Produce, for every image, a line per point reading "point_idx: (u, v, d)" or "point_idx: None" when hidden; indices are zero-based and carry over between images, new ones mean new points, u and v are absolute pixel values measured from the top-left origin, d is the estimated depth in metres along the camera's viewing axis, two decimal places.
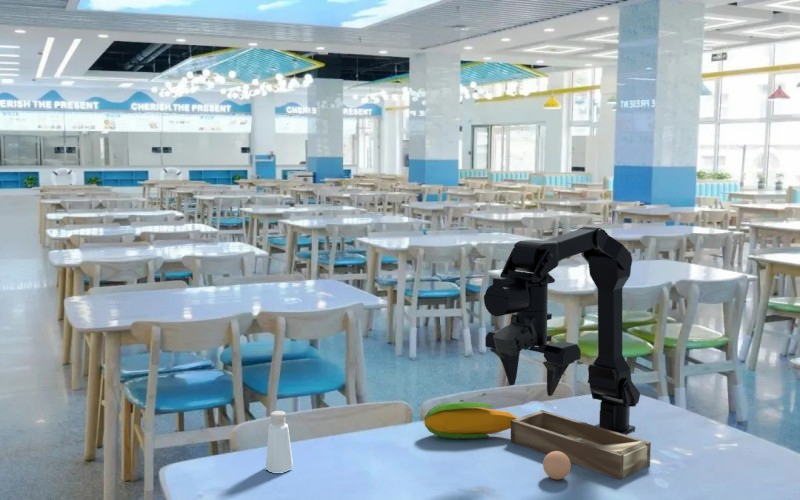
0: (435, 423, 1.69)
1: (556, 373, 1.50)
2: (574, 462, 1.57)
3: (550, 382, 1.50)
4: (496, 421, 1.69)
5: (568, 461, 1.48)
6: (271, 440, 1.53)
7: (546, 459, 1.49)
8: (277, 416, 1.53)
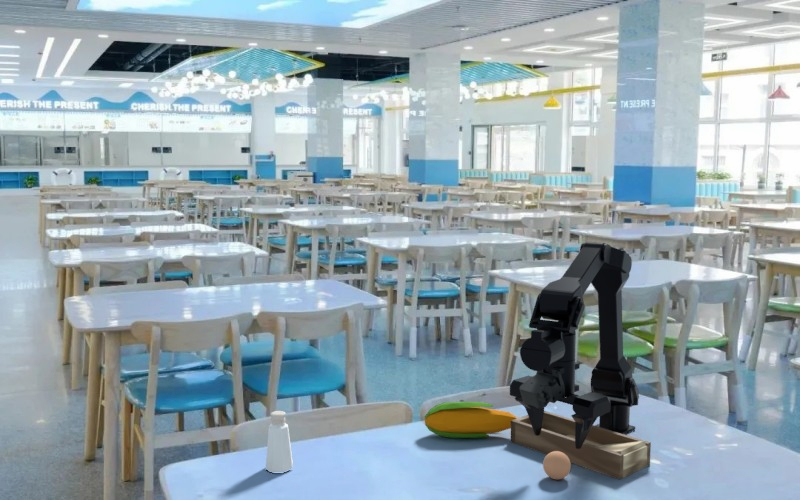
0: (435, 422, 1.69)
1: (585, 426, 1.45)
2: (574, 462, 1.57)
3: (578, 435, 1.44)
4: (496, 421, 1.69)
5: (568, 461, 1.48)
6: (271, 440, 1.53)
7: (546, 459, 1.49)
8: (277, 416, 1.53)
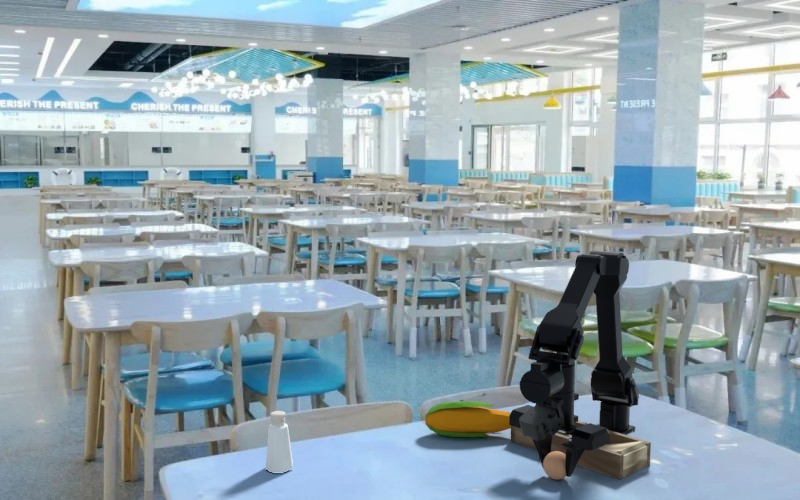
0: (434, 421, 1.70)
1: (575, 454, 1.47)
2: None
3: (569, 463, 1.46)
4: (496, 420, 1.70)
5: None
6: (271, 440, 1.53)
7: (546, 459, 1.49)
8: (277, 416, 1.53)
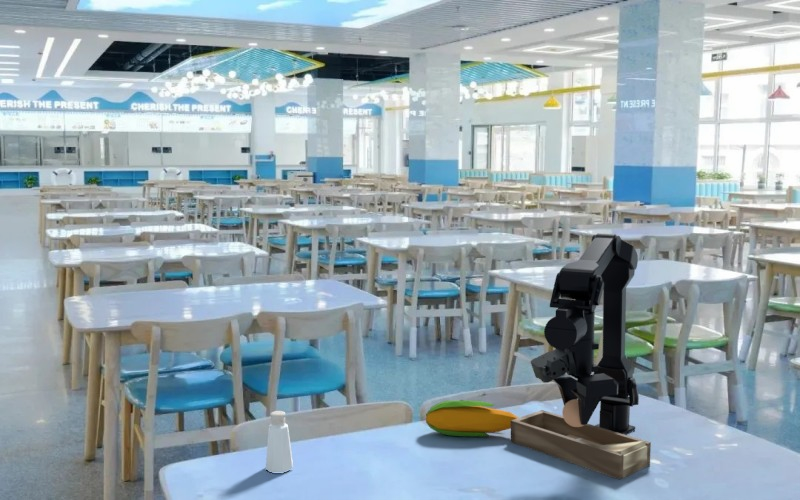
0: (435, 420, 1.71)
1: (588, 403, 1.46)
2: (574, 462, 1.57)
3: (581, 411, 1.46)
4: (496, 420, 1.70)
5: None
6: (271, 440, 1.53)
7: (564, 405, 1.50)
8: (277, 416, 1.53)
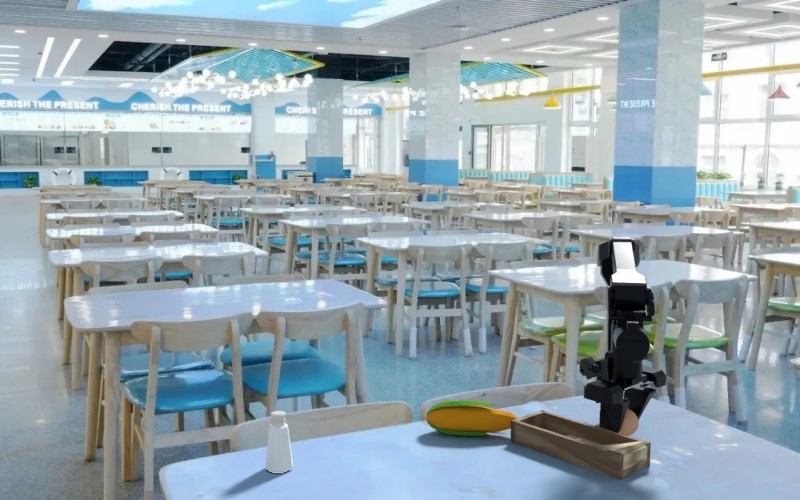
0: (435, 419, 1.72)
1: (614, 411, 1.50)
2: (574, 462, 1.57)
3: (609, 416, 1.52)
4: (496, 420, 1.70)
5: None
6: (271, 440, 1.53)
7: None
8: (277, 416, 1.53)
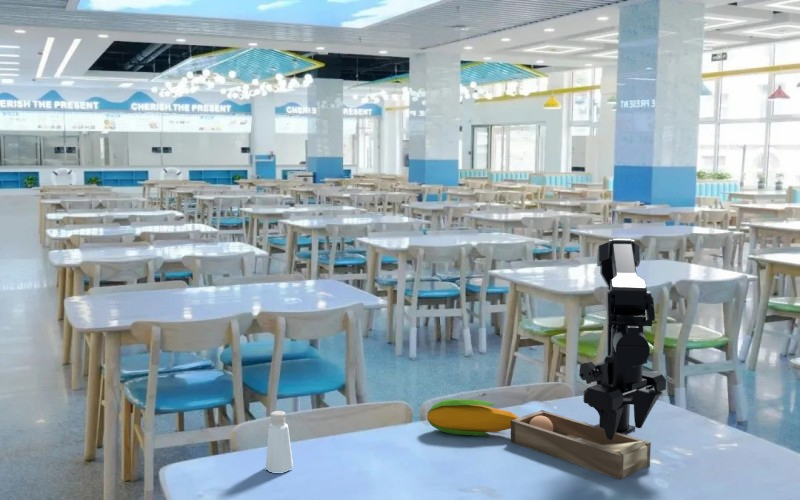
0: (435, 417, 1.72)
1: (608, 417, 1.49)
2: (574, 462, 1.57)
3: (602, 423, 1.50)
4: (496, 420, 1.70)
5: None
6: (271, 440, 1.53)
7: None
8: (277, 416, 1.53)
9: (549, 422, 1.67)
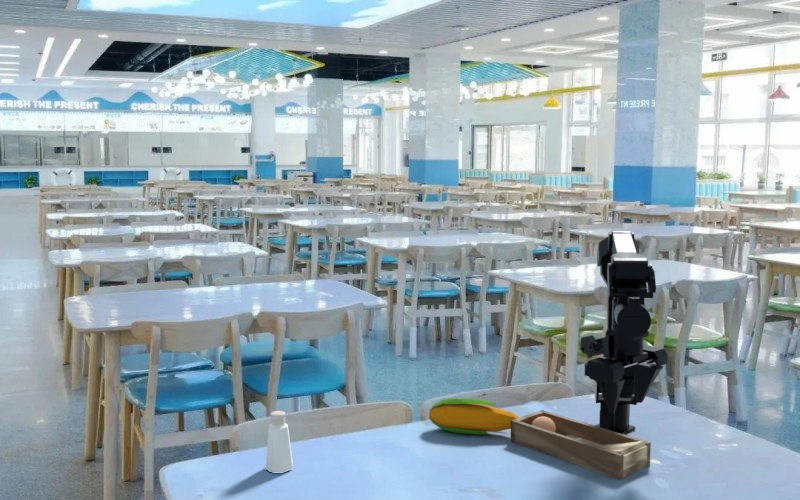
0: (436, 415, 1.74)
1: (609, 390, 1.48)
2: (574, 462, 1.57)
3: (603, 397, 1.50)
4: (496, 419, 1.70)
5: None
6: (271, 440, 1.53)
7: None
8: (277, 416, 1.53)
9: (553, 426, 1.67)
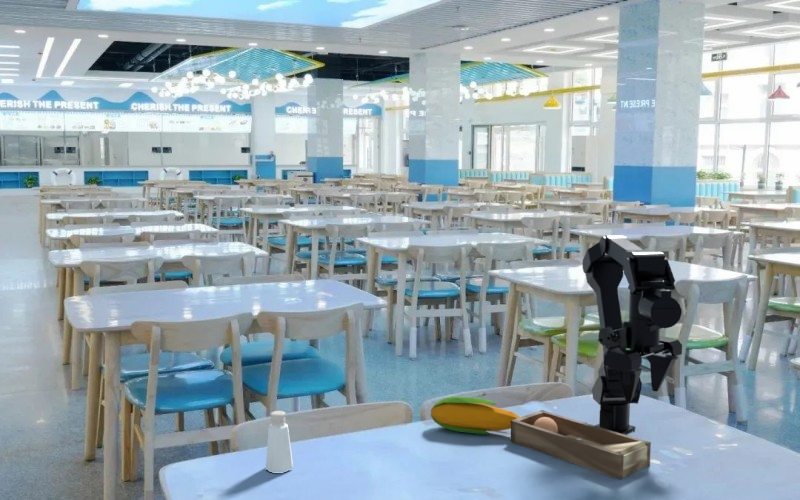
0: (437, 414, 1.75)
1: (626, 379, 1.55)
2: (574, 462, 1.57)
3: (621, 385, 1.56)
4: (496, 419, 1.71)
5: None
6: (271, 440, 1.53)
7: None
8: (277, 416, 1.53)
9: (555, 429, 1.66)
